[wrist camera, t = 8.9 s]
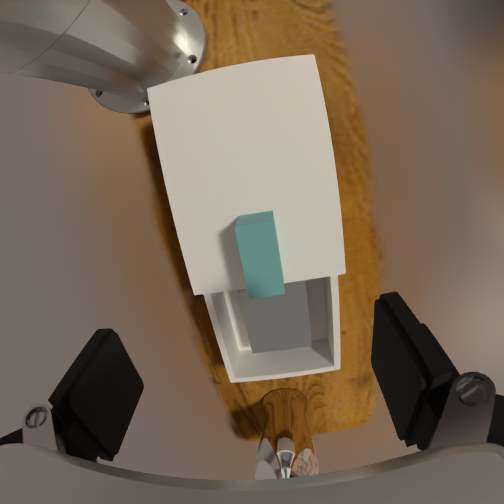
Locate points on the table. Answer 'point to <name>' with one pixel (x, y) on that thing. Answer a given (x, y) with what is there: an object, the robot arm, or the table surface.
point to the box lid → (250, 175)
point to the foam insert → (278, 319)
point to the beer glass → (285, 438)
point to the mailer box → (284, 361)
